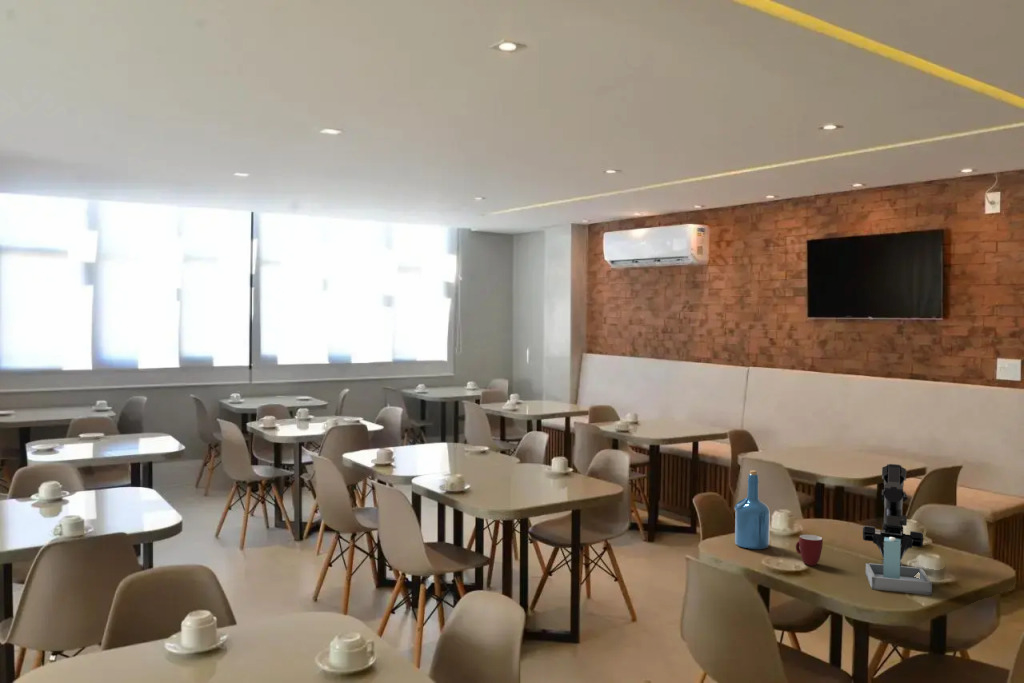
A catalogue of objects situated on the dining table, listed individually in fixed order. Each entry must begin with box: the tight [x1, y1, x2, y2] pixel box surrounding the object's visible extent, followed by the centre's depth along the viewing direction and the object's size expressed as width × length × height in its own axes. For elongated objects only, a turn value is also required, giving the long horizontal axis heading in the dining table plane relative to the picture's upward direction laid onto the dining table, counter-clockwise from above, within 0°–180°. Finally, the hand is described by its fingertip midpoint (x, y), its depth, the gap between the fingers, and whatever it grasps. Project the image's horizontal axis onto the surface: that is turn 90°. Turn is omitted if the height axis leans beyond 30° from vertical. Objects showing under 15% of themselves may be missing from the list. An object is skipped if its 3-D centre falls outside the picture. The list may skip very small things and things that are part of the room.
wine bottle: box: [734, 470, 771, 550], centre depth 315 cm, size 14×13×30 cm
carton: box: [883, 537, 901, 579], centre depth 269 cm, size 5×5×14 cm
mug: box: [795, 534, 824, 567], centre depth 292 cm, size 11×8×10 cm
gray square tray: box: [864, 562, 933, 596], centre depth 269 cm, size 17×18×4 cm
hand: (891, 558), depth 268 cm, fingers closed on carton, 5 cm apart
